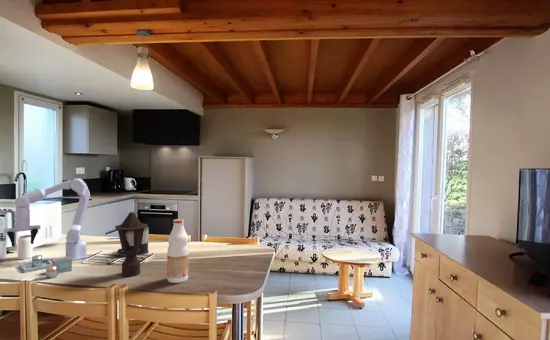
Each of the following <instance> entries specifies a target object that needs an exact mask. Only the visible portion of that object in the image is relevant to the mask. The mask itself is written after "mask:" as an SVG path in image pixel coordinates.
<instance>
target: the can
mask: <svg viewBox="0 0 550 340" xmlns="http://www.w3.org/2000/svg"><path fill="white" fill-rule="evenodd" d="M33 247H34V243H33V244H31V234H24V235H20V236H18V239H17V259H18V260H21V261H24V260H28V259H32V256H34V248H33Z"/></svg>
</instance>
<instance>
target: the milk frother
mask: <svg viewBox="0 0 550 340" xmlns="http://www.w3.org/2000/svg"><path fill="white" fill-rule="evenodd" d="M149 229H150V227H149V226H148V227H146V228H144V232H143V237H142V242H141V246H140V251H139V252H138V254H137V255H138V256H139V255H146V254H148V253H149V231H150V230H149ZM116 253H117V255H118V256H121V258H123V257H126V256H125V253H123V252H122V248H119V249H117V251H116ZM137 255H136V256H137Z"/></svg>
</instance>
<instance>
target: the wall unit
mask: <svg viewBox="0 0 550 340" xmlns="http://www.w3.org/2000/svg"><path fill="white" fill-rule="evenodd" d="M51 262H52V265H57V275H58V274H63V273H68V272H72V271H73V260H72V258H70V257H69V256H68V257H66V256H63V257H58V258H52V259H51Z"/></svg>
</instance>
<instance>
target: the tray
mask: <svg viewBox="0 0 550 340" xmlns="http://www.w3.org/2000/svg"><path fill="white" fill-rule="evenodd" d="M51 265H52V260H50V259H49V258H45V259H43V258H42V266H38V267H32V261H28V262H22V263H19V264H18V267H19V268H20V269H21V271H22V272H23V273H24V274H27V273H31V272H36V271H40V270H46V267H47V266H51Z"/></svg>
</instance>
